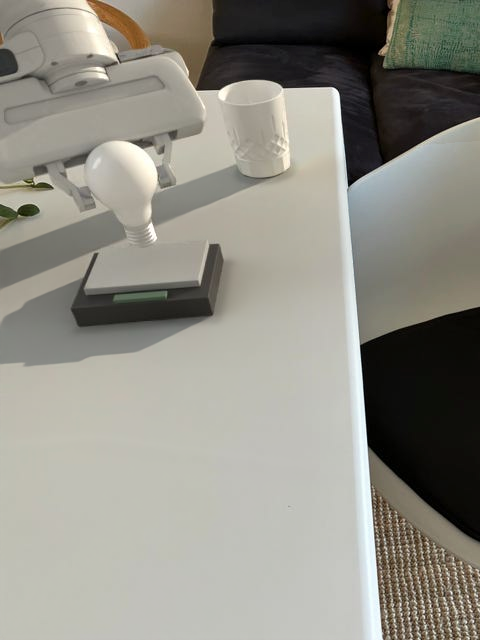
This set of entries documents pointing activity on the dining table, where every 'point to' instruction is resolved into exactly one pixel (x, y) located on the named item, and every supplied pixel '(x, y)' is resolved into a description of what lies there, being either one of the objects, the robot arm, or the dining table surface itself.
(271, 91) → the white cup
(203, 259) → the scale
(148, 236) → the lightbulb
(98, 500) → the dining table surface
